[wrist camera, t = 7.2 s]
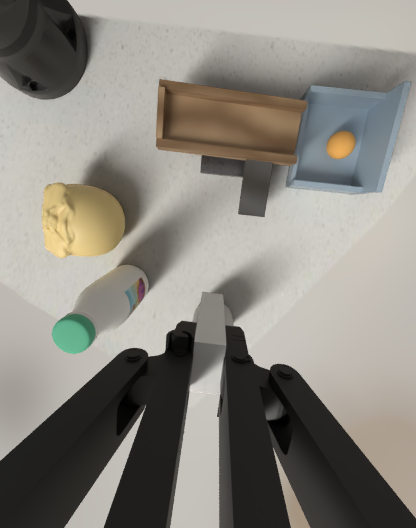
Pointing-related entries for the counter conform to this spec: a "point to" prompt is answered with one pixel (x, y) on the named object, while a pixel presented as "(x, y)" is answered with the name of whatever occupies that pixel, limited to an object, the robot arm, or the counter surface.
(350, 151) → the ball
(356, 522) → the robot arm
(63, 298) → the counter surface
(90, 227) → the sculpture
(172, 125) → the seesaw chute
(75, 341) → the milk bottle
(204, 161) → the pivot stand
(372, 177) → the box
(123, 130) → the counter surface
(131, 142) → the counter surface
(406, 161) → the counter surface
